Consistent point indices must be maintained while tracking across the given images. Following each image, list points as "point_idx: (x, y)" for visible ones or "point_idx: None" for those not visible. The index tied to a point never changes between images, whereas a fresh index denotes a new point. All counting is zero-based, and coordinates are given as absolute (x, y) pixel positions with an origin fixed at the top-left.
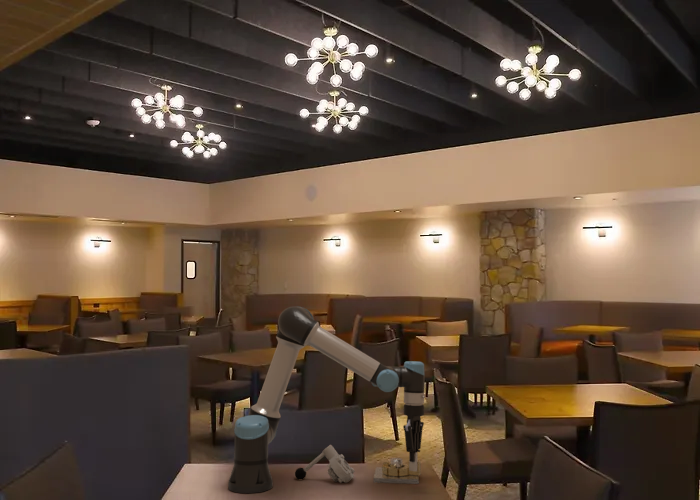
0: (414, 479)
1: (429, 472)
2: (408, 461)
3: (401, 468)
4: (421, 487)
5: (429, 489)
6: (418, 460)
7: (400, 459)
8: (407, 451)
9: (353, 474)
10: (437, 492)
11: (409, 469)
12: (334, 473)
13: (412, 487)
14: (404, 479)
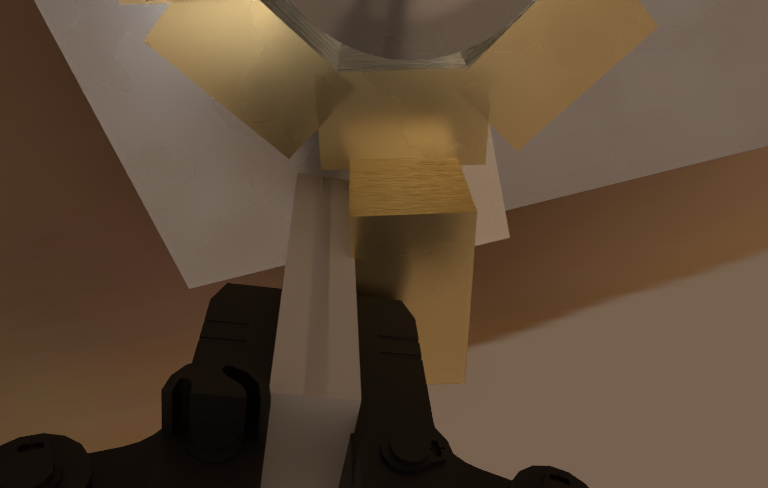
0: (166, 245)
1: (756, 245)
2: (350, 211)
3: (228, 61)
4: (82, 314)
5: (64, 388)
6: (447, 360)
7: (413, 13)
8: (178, 387)
9: None
10: None
11: (297, 184)
12: None
13: (17, 236)
14: (101, 123)
